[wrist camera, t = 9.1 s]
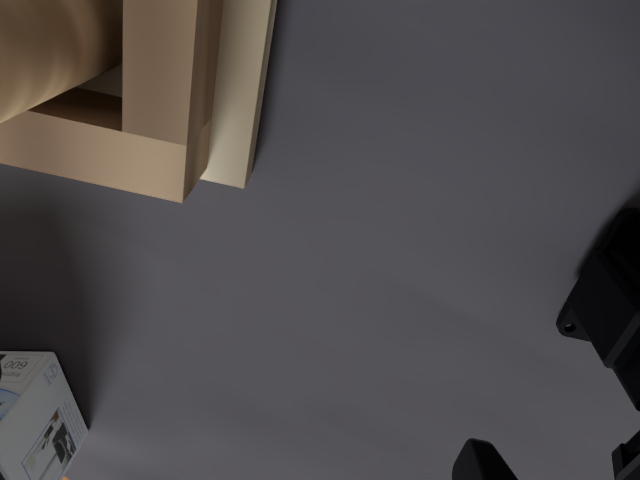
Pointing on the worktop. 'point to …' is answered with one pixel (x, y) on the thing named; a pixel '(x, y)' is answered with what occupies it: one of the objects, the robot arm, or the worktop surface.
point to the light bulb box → (37, 418)
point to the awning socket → (159, 103)
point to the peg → (54, 48)
